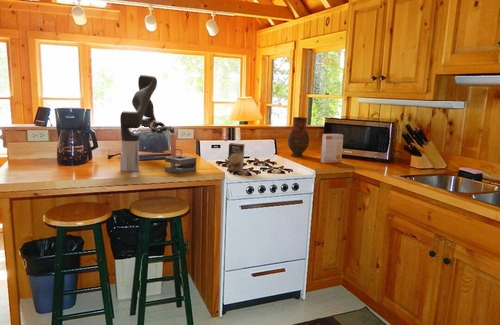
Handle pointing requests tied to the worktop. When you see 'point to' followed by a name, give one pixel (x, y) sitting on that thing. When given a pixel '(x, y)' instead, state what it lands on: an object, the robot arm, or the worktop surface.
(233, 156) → the coffee box
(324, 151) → the cracker box
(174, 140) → the pin
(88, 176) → the worktop surface
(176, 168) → the clevis
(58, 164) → the worktop surface
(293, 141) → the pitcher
